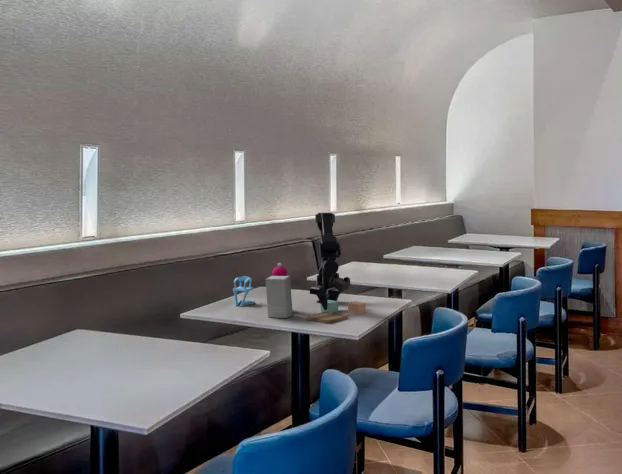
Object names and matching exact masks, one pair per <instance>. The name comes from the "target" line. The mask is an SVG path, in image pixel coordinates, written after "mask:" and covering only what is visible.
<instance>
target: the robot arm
mask: <svg viewBox="0 0 622 474" xmlns="http://www.w3.org/2000/svg"><path fill="white" fill-rule="evenodd" d="M314 220H315V221H314V222H315V224H316V229H317V230H318V231H319V233H320V242H319V247H318V248H319V257H320V258H321V259H320V260H321V263H320V265H321V266H320V267H319V270H318V272H317V274H318V275H316V282H315V283H316V285H314V286H311V287H309V294H310V295H316V297H317V299H318V300H316V303H317V304H318V303H319V304H320V305H321V304H322V306H323V308H324V310H327V301H328V300H332V301H338V299H339V297H340V296H341V294H342V293H343V292H344V291H347V290H348V289H349V287H350V286H351V278H350V277H349V276H345V277H344V278H343V277H340V274H339V272H338V271H339V267H340V265H339V264H338V262H337V259H338V258H340V257H341V256H342V252H341V245H340V242H338V239H337V236H336V235H334V232H333V227H334V224H335V223H336V214H335V213H333V212H318V213H315V216H314Z"/></svg>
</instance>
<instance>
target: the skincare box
mask: <svg viewBox="0 0 622 474" xmlns="http://www.w3.org/2000/svg"><path fill="white" fill-rule="evenodd" d="M265 289H266V303H267V304H266V305H267V317H268V318H276V319H278V318H279V319H280V318H281V319H288V318H289V317H290V316H292V315H293V301H292V285H291V276H290V275H287V276H273V275H270V276H269V277H267V278H265Z"/></svg>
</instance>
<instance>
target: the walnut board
mask: <svg viewBox="0 0 622 474" xmlns="http://www.w3.org/2000/svg"><path fill="white" fill-rule="evenodd" d="M346 319H348V315H347V314H341V313H337V312H334V313H331V312H321V311H320V312H318V313H315V314H311V315H307V316H306V320H308V321H313V322H318V323H323V324H327V325H329V324H333V323H337V322H340V321H343V320H346Z"/></svg>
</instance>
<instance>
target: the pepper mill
mask: <svg viewBox="0 0 622 474" xmlns="http://www.w3.org/2000/svg"><path fill="white" fill-rule="evenodd" d="M271 272H272V276H288V270H287V268H286V267H284V266H283V264H282V262H278V263H277V266H275V267H274V268H273V270H272V271H271Z"/></svg>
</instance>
